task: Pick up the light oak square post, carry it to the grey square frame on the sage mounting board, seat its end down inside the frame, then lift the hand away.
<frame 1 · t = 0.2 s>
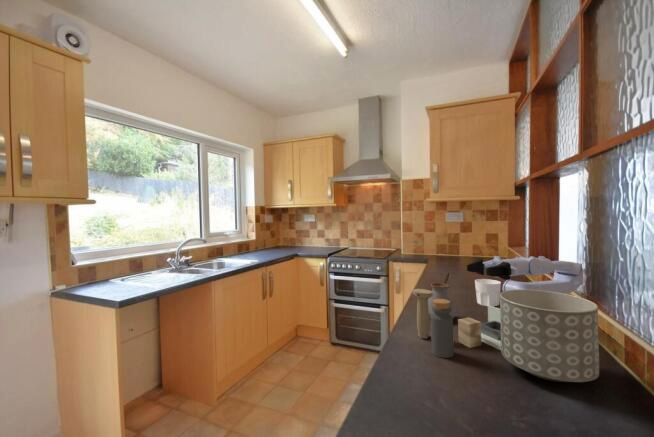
hand: (476, 269, 92), 22 cm above the countertop, tool horizontal, fingers open, 7 cm apart
cup: (488, 304, 125), on the countertop
mounting board: (496, 337, 91), on the countertop
planter: (546, 373, 70), on the countertop
handle: (423, 337, 92), on the countertop
coffee pot: (443, 315, 113), on the countertop
bottle: (442, 353, 81), on the countertop
oak post: (469, 343, 87), on the countertop
grey square frame: (498, 329, 91), point 2 cm above the countertop
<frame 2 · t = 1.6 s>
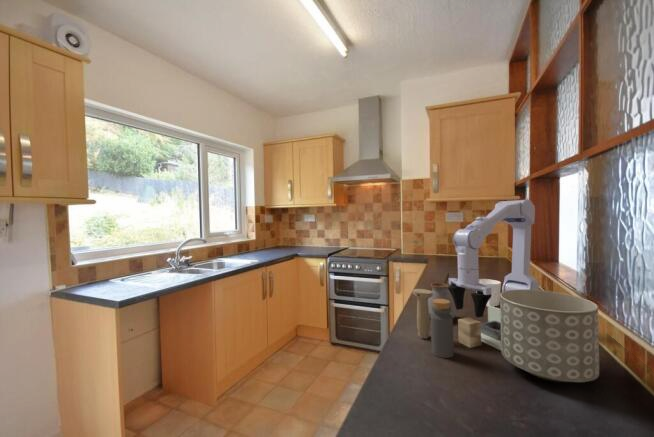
hand: (469, 312, 87), 9 cm above the countertop, tool pointing down, fingers open, 7 cm apart
nothing on the countertop moved.
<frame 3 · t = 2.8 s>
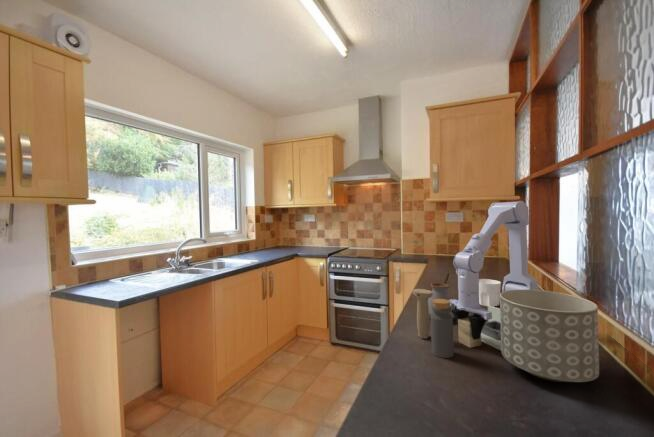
hand: (469, 335, 87), 2 cm above the countertop, tool pointing down, fingers closed on oak post, 4 cm apart
oak post: (469, 343, 87), on the countertop, touching gripper
everything else where it was.
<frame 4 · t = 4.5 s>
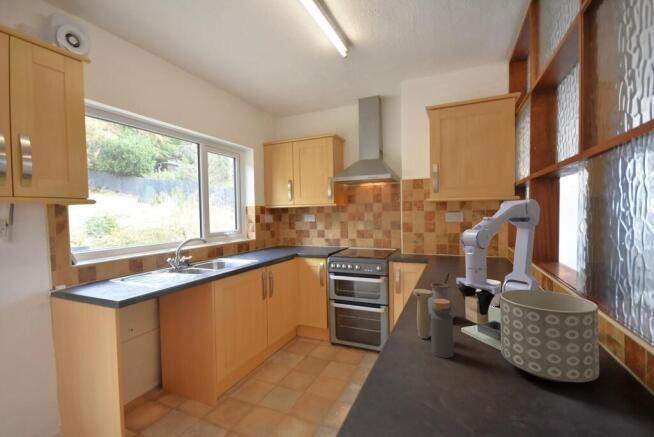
hand: (477, 311, 88), 9 cm above the countertop, tool pointing down, fingers closed on oak post, 4 cm apart
oak post: (476, 320, 88), point 7 cm above the countertop, touching gripper
everything else where it was.
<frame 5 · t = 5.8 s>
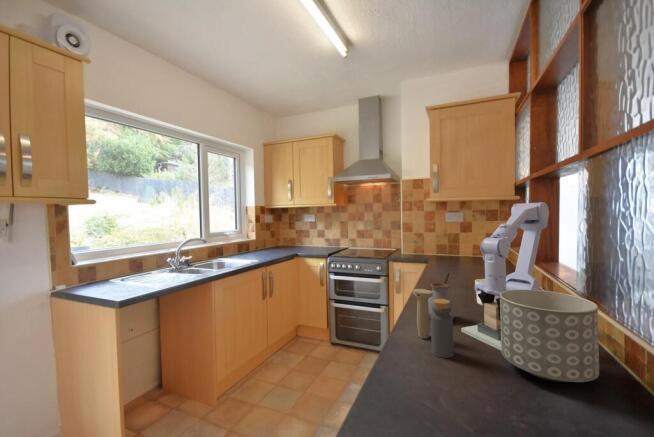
hand: (496, 318, 91), 6 cm above the countertop, tool pointing down, fingers closed on oak post, 4 cm apart
oak post: (495, 326, 91), point 4 cm above the countertop, touching gripper
everything else where it was.
when the fingers open (6 cm above the countertop, at t = 6.4 s): oak post drops 2 cm, resting on mounting board.
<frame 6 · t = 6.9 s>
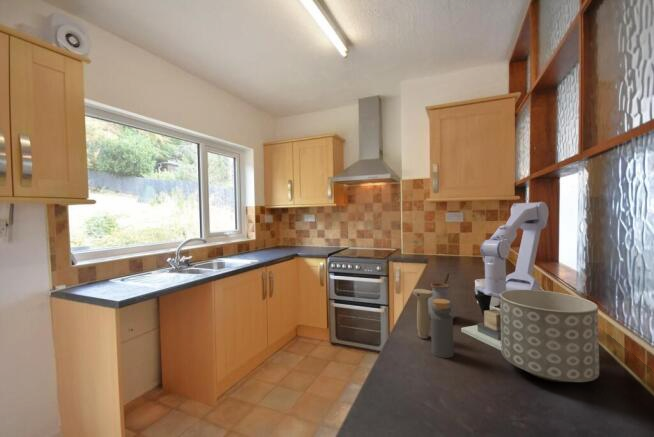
hand: (496, 320, 91), 6 cm above the countertop, tool pointing down, fingers open, 7 cm apart
oak post: (495, 334, 91), point 1 cm above the countertop, touching mounting board
everything else where it was.
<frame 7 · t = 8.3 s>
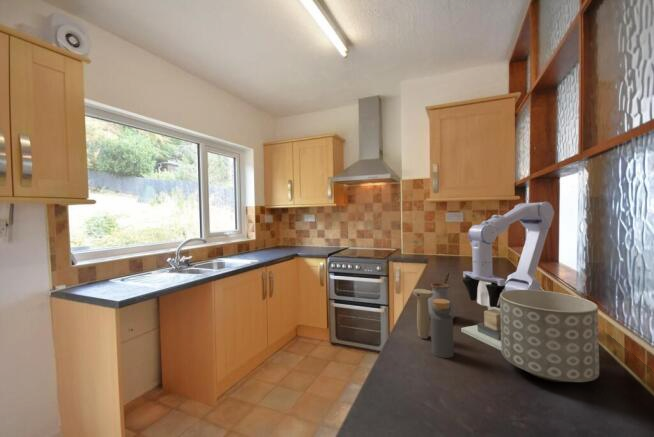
hand: (483, 303, 93), 10 cm above the countertop, tool pointing down, fingers open, 7 cm apart
nothing on the countertop moved.
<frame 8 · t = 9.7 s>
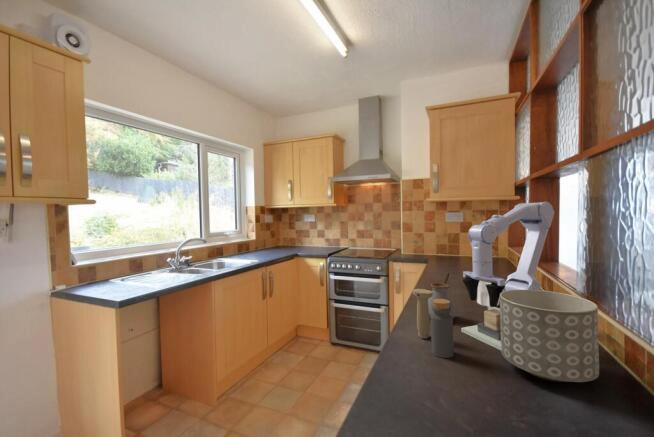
hand: (483, 303, 93), 10 cm above the countertop, tool pointing down, fingers open, 7 cm apart
nothing on the countertop moved.
at the end: oak post 0.4 cm off-centre on the grey square frame, point 1.2 cm above the grey square frame's base; oak post tilted 0°; the gripper is holding nothing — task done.
